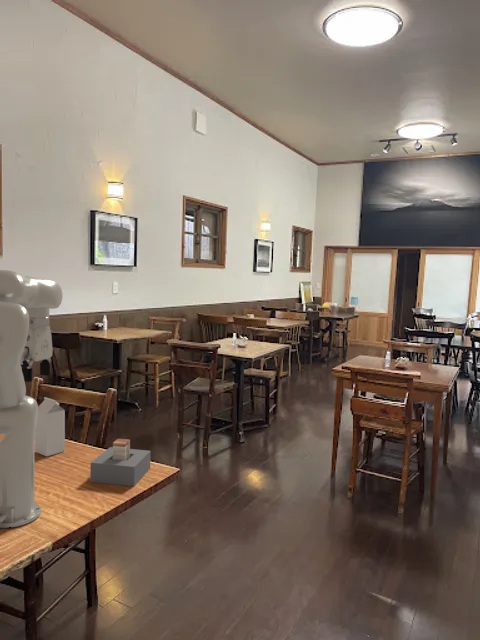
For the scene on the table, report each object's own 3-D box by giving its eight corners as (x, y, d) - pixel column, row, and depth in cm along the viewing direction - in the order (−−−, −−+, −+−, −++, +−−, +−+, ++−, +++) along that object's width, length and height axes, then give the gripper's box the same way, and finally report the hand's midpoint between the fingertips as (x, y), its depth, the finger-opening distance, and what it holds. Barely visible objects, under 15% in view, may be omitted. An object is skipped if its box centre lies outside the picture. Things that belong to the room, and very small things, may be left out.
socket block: (134, 486, 144) (134, 466, 144) (90, 481, 146) (90, 462, 146) (150, 468, 158) (150, 450, 158) (109, 464, 160) (110, 447, 160)
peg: (124, 478, 150) (125, 443, 149) (112, 477, 150) (112, 442, 150) (129, 473, 154) (130, 439, 153) (117, 472, 154) (118, 438, 154)
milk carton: (46, 457, 165) (46, 402, 164) (35, 452, 169) (35, 399, 168) (64, 451, 171) (65, 399, 169) (53, 447, 175) (53, 395, 173)
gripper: (31, 326, 138) (31, 384, 140) (62, 321, 155) (62, 373, 157) (7, 324, 140) (7, 383, 141) (40, 320, 157) (40, 372, 158)
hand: (36, 378), depth 149 cm, fingers open, 9 cm apart
